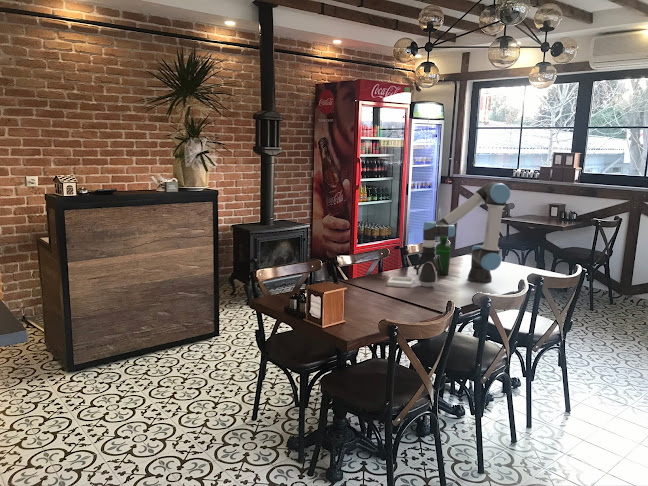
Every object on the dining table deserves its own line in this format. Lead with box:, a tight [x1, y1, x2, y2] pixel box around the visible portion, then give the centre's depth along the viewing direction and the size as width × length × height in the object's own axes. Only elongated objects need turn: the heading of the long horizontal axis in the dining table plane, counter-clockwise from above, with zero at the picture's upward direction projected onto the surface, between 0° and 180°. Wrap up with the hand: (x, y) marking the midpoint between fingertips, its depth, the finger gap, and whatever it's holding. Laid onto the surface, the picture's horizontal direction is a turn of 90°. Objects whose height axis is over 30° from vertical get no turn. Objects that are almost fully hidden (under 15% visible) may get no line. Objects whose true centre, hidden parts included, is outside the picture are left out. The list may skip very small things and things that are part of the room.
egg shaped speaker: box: [419, 261, 436, 288], centre depth 329 cm, size 10×10×15 cm
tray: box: [386, 275, 416, 289], centre depth 335 cm, size 15×15×2 cm
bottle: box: [434, 237, 452, 277], centre depth 357 cm, size 11×11×28 cm
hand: (427, 280), depth 329 cm, fingers closed on egg shaped speaker, 10 cm apart
